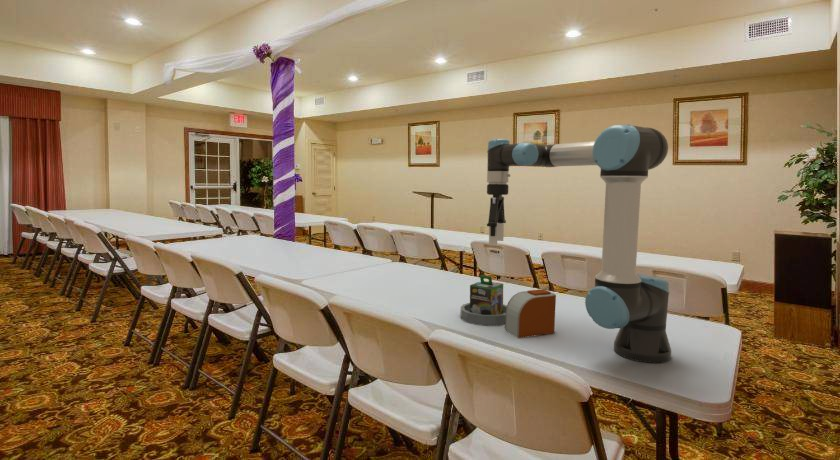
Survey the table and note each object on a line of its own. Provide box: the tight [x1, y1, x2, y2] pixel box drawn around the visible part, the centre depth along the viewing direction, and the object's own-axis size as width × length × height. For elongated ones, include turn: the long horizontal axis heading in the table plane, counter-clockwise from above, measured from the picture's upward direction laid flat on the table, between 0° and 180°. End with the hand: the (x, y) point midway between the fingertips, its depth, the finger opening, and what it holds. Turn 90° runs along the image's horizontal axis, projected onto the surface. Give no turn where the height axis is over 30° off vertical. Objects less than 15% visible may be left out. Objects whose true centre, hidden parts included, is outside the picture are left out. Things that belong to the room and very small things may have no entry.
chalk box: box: [469, 274, 504, 315], centre depth 168 cm, size 9×9×15 cm
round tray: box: [459, 302, 507, 327], centre depth 169 cm, size 18×18×3 cm
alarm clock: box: [504, 288, 557, 339], centre depth 154 cm, size 15×8×14 cm, turn 111°
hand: (496, 243), depth 167 cm, fingers open, 13 cm apart
